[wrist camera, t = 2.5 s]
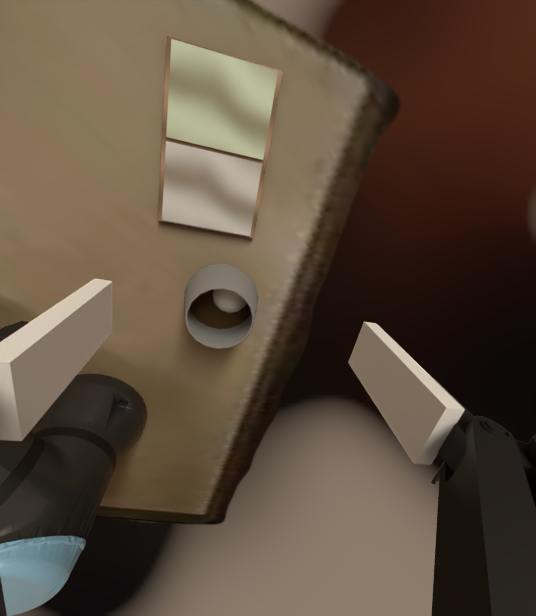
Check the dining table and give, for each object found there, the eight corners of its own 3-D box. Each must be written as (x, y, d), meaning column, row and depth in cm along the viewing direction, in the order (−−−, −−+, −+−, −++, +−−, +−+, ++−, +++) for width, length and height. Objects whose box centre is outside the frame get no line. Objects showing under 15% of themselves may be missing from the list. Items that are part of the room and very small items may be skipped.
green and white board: (252, 237, 37) (253, 238, 36) (159, 220, 35) (157, 220, 34) (281, 73, 31) (283, 70, 30) (168, 40, 29) (166, 34, 28)
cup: (239, 246, 38) (242, 265, 29) (265, 304, 42) (274, 337, 32) (176, 273, 38) (159, 300, 29) (207, 328, 42) (200, 367, 33)
